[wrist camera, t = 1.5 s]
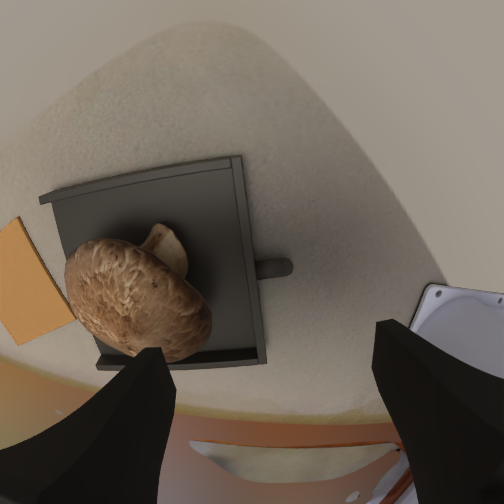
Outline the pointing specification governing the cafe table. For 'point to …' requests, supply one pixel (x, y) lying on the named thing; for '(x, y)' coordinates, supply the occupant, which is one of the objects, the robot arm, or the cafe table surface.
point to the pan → (193, 241)
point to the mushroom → (138, 295)
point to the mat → (27, 288)
